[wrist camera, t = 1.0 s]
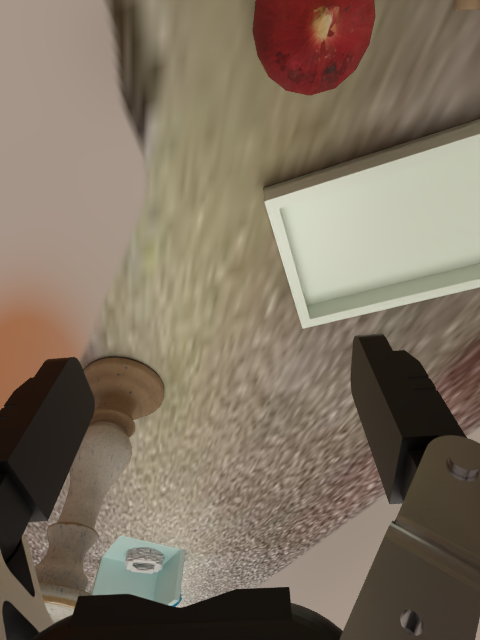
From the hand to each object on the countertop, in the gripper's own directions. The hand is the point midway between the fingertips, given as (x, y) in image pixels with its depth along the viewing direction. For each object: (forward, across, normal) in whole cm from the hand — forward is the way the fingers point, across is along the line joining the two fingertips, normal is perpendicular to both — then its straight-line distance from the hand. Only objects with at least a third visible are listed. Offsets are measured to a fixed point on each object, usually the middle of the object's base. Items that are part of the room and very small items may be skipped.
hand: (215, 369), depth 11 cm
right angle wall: (+27, +24, +64) cm, 74 cm away
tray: (+20, -12, +4) cm, 23 cm away
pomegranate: (+19, -5, -9) cm, 22 cm away
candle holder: (+22, +14, +20) cm, 33 cm away
